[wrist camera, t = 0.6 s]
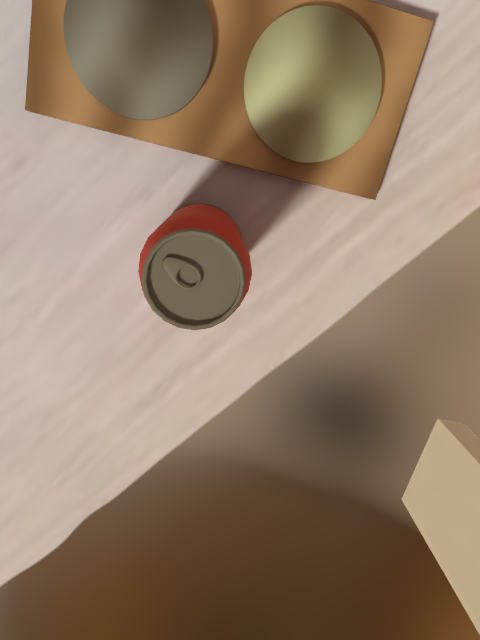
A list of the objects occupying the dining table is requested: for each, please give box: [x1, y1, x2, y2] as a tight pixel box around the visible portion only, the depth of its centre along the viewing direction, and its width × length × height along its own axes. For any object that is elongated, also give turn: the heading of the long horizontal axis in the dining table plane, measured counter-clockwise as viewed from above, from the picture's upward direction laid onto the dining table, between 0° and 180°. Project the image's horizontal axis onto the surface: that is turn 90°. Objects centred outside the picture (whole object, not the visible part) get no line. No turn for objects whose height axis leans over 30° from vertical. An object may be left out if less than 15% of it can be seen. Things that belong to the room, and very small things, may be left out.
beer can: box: [138, 204, 252, 330], centre depth 28 cm, size 7×7×12 cm
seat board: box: [25, 0, 434, 200], centre depth 29 cm, size 26×12×2 cm, turn 77°
